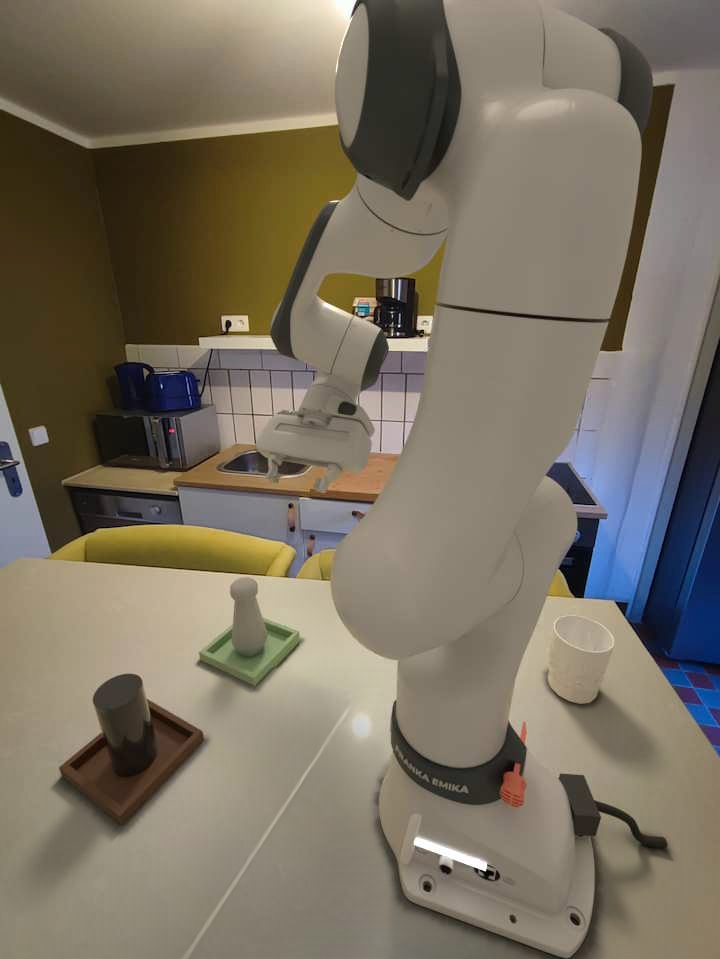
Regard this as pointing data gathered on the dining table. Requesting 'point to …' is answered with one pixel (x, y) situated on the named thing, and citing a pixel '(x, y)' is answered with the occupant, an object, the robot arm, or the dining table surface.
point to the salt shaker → (247, 618)
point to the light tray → (256, 666)
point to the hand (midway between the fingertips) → (294, 486)
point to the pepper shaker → (126, 724)
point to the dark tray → (130, 793)
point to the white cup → (578, 657)
